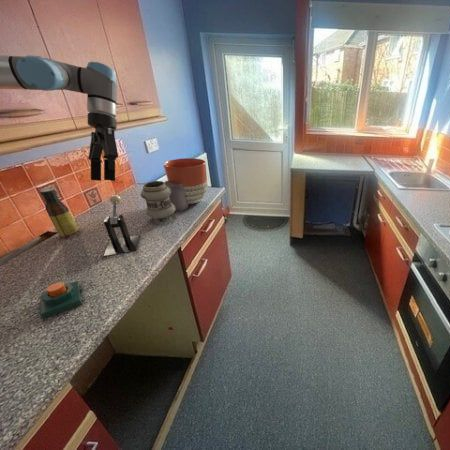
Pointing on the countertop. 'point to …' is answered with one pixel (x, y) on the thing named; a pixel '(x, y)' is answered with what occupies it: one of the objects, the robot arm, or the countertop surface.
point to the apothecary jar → (158, 201)
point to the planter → (188, 177)
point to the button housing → (61, 300)
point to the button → (56, 289)
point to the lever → (114, 210)
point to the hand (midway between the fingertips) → (102, 180)
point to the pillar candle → (177, 196)
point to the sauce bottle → (59, 214)
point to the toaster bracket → (120, 244)
